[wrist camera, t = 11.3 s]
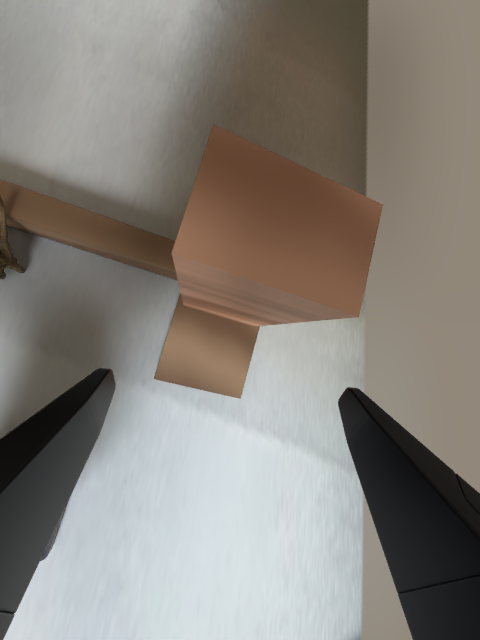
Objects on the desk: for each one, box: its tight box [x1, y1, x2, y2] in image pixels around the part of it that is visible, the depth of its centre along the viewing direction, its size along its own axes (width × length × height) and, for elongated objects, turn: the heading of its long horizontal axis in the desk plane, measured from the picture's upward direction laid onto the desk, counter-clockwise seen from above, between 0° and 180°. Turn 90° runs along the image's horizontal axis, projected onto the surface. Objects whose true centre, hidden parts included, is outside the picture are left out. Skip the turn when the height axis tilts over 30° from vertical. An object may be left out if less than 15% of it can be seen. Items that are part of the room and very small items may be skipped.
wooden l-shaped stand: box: [0, 124, 383, 398], centre depth 11 cm, size 10×24×13 cm, turn 74°
